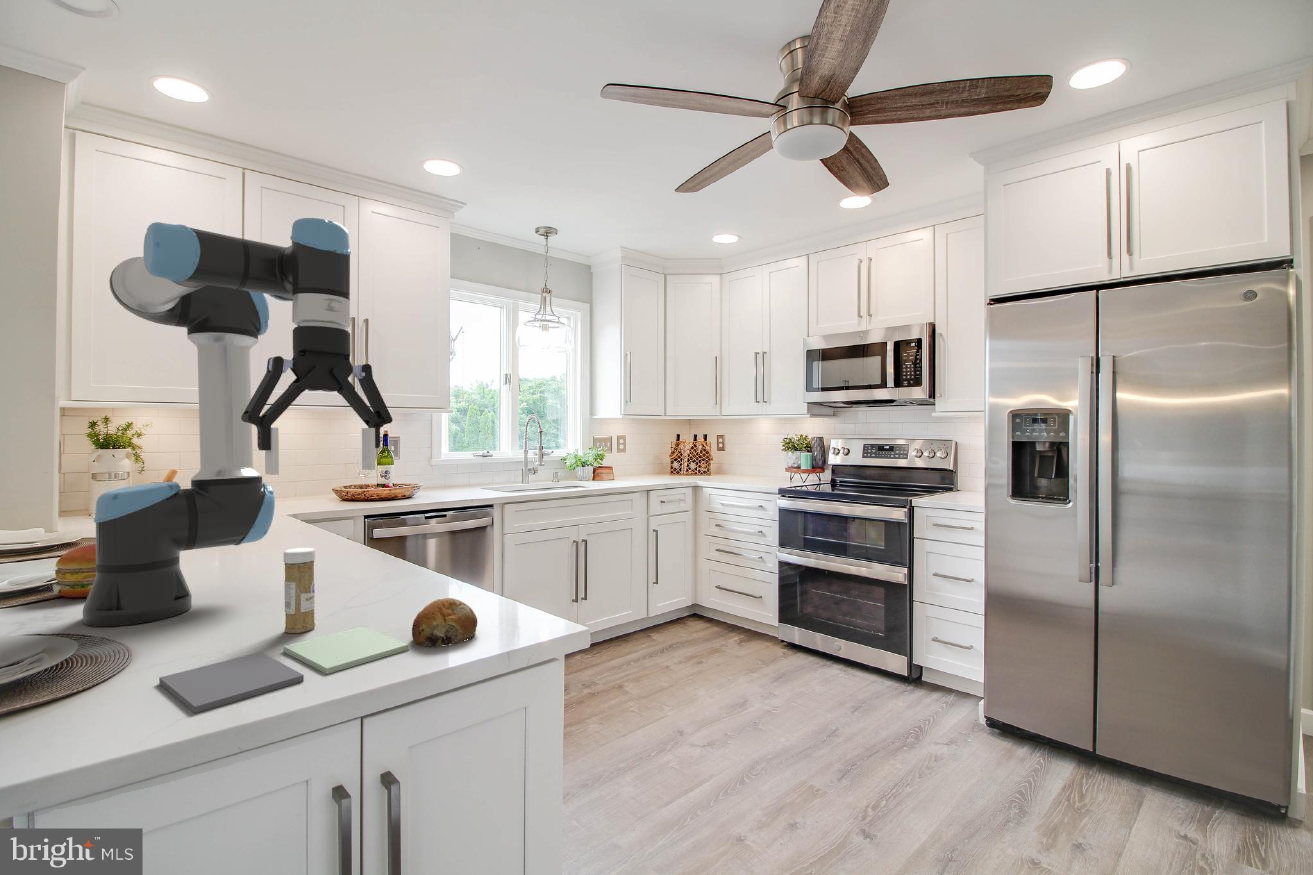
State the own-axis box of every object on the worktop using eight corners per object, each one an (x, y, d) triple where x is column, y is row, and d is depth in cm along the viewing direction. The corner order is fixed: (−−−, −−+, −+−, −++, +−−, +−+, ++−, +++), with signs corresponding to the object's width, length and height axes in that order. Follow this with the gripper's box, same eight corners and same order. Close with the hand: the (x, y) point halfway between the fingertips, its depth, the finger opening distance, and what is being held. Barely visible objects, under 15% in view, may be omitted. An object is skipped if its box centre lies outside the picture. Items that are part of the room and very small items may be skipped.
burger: (66, 605, 118) (66, 552, 118) (41, 595, 125) (40, 546, 125) (152, 589, 130) (151, 542, 130) (124, 581, 137) (124, 536, 137)
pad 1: (159, 683, 82) (159, 677, 82) (261, 657, 91) (261, 651, 91) (195, 713, 73) (195, 706, 73) (303, 680, 82) (303, 674, 82)
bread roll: (482, 656, 102) (494, 607, 105) (446, 648, 93) (460, 594, 96) (432, 649, 105) (445, 601, 108) (392, 641, 96) (408, 589, 99)
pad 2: (283, 651, 93) (283, 646, 93) (362, 631, 103) (362, 626, 103) (327, 673, 85) (326, 668, 85) (408, 649, 94) (408, 644, 94)
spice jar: (316, 631, 103) (316, 550, 103) (284, 636, 101) (284, 553, 100) (314, 623, 107) (313, 545, 107) (283, 628, 104) (282, 548, 104)
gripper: (232, 312, 80) (234, 477, 80) (414, 335, 99) (415, 468, 99) (213, 319, 84) (214, 475, 84) (390, 340, 104) (391, 467, 104)
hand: (323, 472), depth 92 cm, fingers open, 13 cm apart
